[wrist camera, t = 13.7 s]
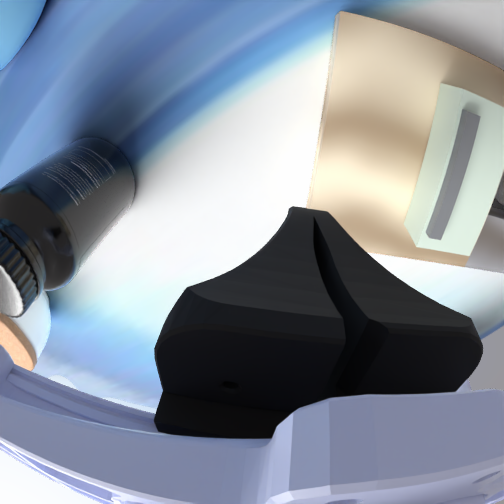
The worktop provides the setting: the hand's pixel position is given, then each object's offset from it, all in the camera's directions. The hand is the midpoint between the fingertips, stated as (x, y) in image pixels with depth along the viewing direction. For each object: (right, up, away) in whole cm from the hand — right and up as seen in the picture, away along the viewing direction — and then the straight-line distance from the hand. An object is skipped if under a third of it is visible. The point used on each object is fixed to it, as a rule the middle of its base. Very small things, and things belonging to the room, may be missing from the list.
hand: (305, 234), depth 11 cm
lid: (+10, +5, +4) cm, 12 cm away
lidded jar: (-27, -5, +19) cm, 33 cm away
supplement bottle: (-13, +5, +10) cm, 17 cm away
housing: (+12, +6, +6) cm, 14 cm away
